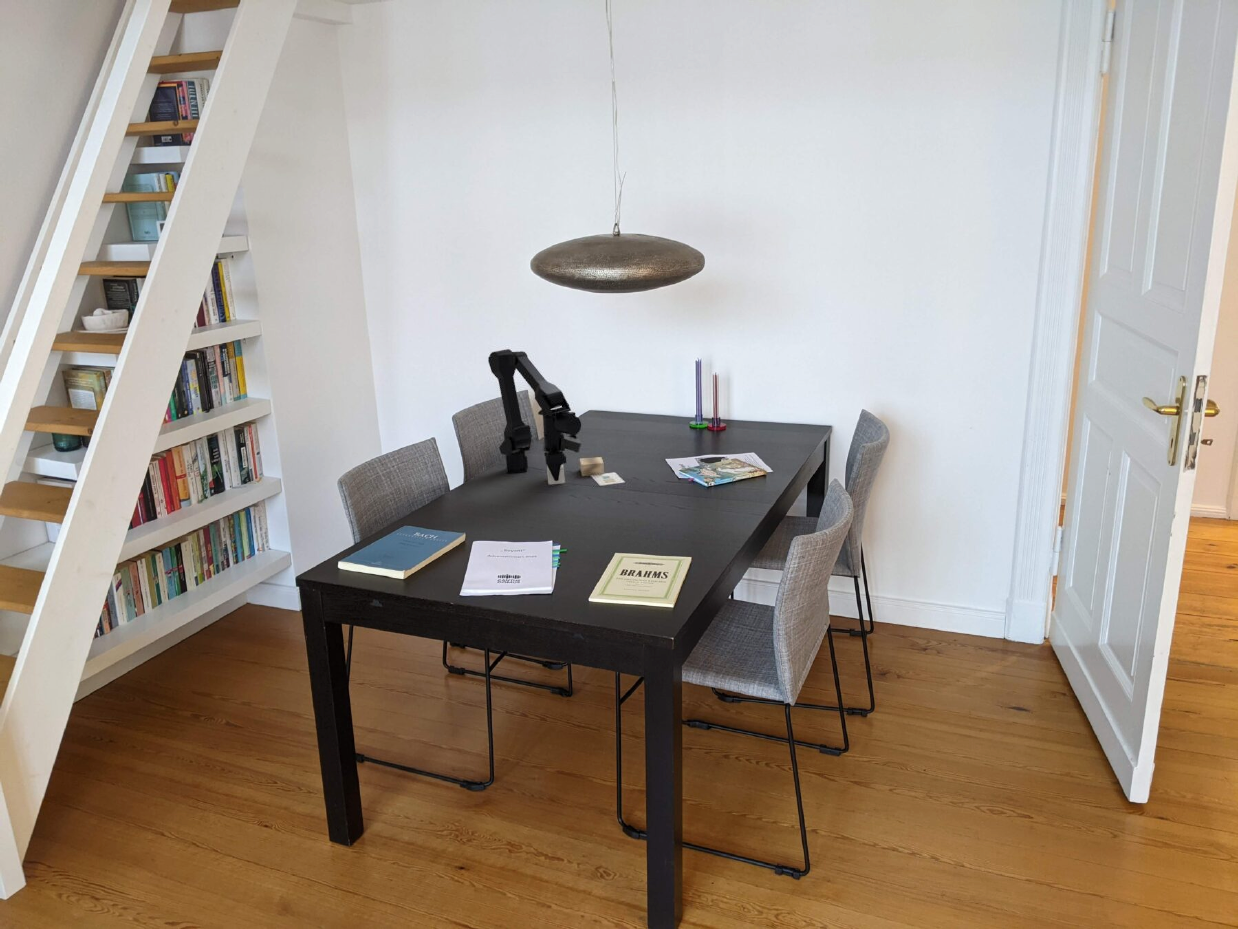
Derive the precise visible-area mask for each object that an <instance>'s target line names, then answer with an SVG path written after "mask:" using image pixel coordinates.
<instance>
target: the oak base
mask: <svg viewBox="0 0 1238 929" xmlns="http://www.w3.org/2000/svg"><path fill="white" fill-rule="evenodd" d="M604 465H605V464H604V461H603V458H602V456H600V457H597V456H596V457H585V458H579V468H580V469H579V470H580V474H581V476H582V477H589V476H590V477H591V475H599V474H605V467H604Z"/></svg>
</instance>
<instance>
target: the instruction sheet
mask: <svg viewBox="0 0 1238 929" xmlns="http://www.w3.org/2000/svg"><path fill="white" fill-rule="evenodd" d="M590 477H591V478H592V480H594V481H595V482H596V483H597V484H598V486H600V487H603V486H609V485H611V486H612V485H619V484H624V483H626V481H625V480H623V478H622V477H620V475H618V474H617V473H616V472H607V473H606V472H605V473H604V474H599V475H590Z"/></svg>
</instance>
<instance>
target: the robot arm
mask: <svg viewBox="0 0 1238 929" xmlns="http://www.w3.org/2000/svg"><path fill="white" fill-rule="evenodd" d="M487 358H488V359H487V360H488V361H487V362H488V365H489V368H490V371H491V373H492V374H493V376H495V378H496V379H497V381H498V386H499V391H500V396H501V400H502V406H503V411H504V416H505V419H506V420H505V421H506V425H505V428H504V431H503V437H504V438H503V439H504V440H503V441H502V443H501V444H500V445H499V447H498V448H499V452H500V454H501V455H504V456H505V462H506V467H505V468H506V474H515V473H526V472H527V471H528V468H529V463H528V455H527V454H526V452H527V451H530V450H531V449H530V448H531V443H532V437H533V435H532V433H531V426H530V425H529V424H526V423H525V422H524V421H523V418H522V414H521V408H520V405H519V404H520V403H519V398H518V392H517V388H516V382H515V373H516V370H517V371H518V373H519V374H520V376H522V378H523V379H524V380H525V382H526V383H527V384H528V386H529V387H530V388H531V390H533V392H534V399H535V401H536V403H537V405H538V406H539V407H540V410H539V411H538V413H537V414H538V415H540V416H542V426H543V439H544V440H543V443H542V446H543V447H542V448H543V449H542V450H543V452H544V458H545V464H546V467H547V466H548V468H549V470H550V472H551V474H552V476H553V478H554V480H555V481H558V479H559V473H560V468H561V465H562V464H563V465H564V464H567V455H566V453H565V452H564V451H566V450H569V451H573V452H574V453H579V452H580V450H581V447H582V440H581V439H580V438H578V437H577V435H578V434H579V433H580V431H581V429H582V422H581V419H580V418H579V417H577V416H576V412H574V411H572V410H571V407H570V404H569V402H568V401H567V399H566V397H565V394H564V393H563V391H562V390H561V389H560V388H559V387H558V386H556V384H553V383H551V382H549V381H548V380H546V379H545V377H544V376H543V375H542V374H541V372H540V371H539V370H538V368H536V366H535V365H534V364H533V362H532V361H531V360H530V359H529V357H528V354H527V353H526V351H523V350H521V351H512V350H511V349H509V348H506V349H501V350H496V351H492V352H491V353H489V356H488V357H487ZM564 434H566V435H564Z"/></svg>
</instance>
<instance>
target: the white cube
mask: <svg viewBox="0 0 1238 929" xmlns="http://www.w3.org/2000/svg"><path fill="white" fill-rule="evenodd" d="M546 471H547V472H546V473H547V482H548V485H556V484H557V485H559V484H560V485H561V484H566V483H565V482H566V480H565V468H564V464H562V465H561V468H560V473H559V479H558V481H555V480H554V478H553V476H552V474H551V472H550V470H549V468H548V466H547V465H546Z"/></svg>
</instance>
